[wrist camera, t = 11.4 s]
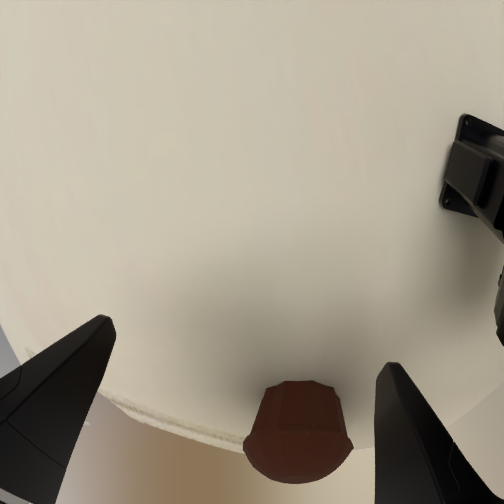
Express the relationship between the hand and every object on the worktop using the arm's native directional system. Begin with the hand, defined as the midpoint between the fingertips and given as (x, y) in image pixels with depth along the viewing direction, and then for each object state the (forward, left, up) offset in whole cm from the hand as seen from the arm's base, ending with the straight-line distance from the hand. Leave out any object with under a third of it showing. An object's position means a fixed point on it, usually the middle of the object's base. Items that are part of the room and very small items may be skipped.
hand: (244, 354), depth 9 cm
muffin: (-6, +23, -12) cm, 27 cm away
